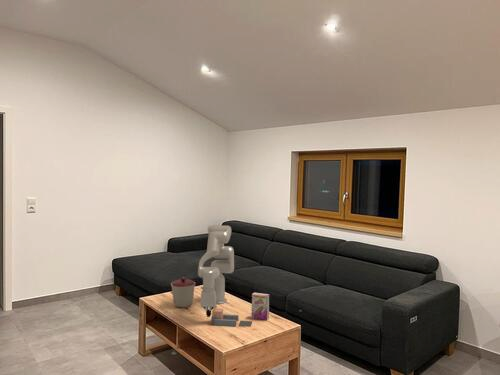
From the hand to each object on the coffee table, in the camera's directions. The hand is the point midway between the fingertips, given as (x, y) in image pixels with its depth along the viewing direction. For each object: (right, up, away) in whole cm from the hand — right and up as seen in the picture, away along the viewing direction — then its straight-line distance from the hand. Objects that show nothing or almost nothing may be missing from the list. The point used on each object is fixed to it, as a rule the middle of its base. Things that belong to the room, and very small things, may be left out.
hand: (208, 316), depth 257 cm
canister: (-22, -2, +31) cm, 38 cm away
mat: (+24, -4, -3) cm, 25 cm away
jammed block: (+6, -4, -1) cm, 7 cm away
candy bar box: (+34, -4, +7) cm, 35 cm away
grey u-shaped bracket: (+11, -4, -1) cm, 12 cm away
